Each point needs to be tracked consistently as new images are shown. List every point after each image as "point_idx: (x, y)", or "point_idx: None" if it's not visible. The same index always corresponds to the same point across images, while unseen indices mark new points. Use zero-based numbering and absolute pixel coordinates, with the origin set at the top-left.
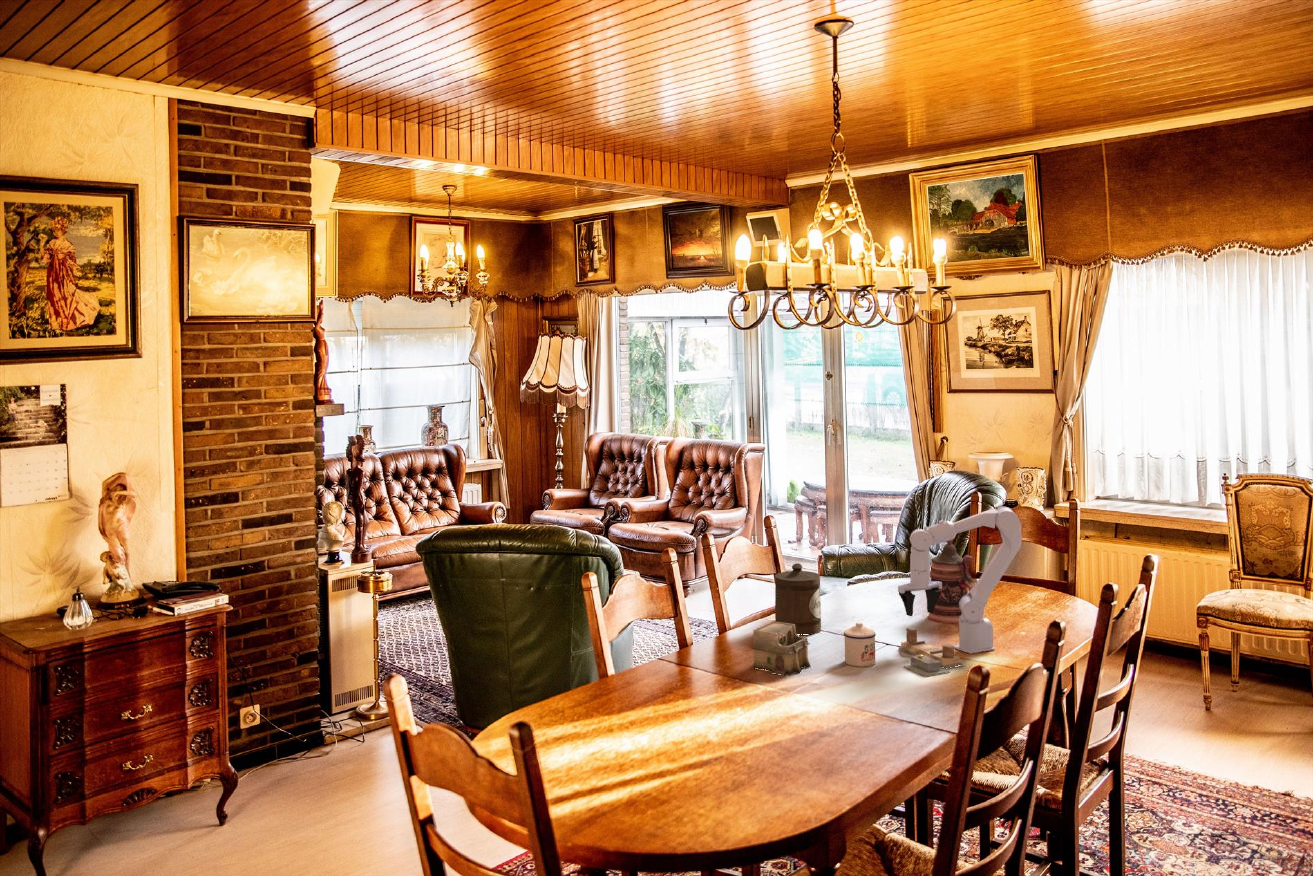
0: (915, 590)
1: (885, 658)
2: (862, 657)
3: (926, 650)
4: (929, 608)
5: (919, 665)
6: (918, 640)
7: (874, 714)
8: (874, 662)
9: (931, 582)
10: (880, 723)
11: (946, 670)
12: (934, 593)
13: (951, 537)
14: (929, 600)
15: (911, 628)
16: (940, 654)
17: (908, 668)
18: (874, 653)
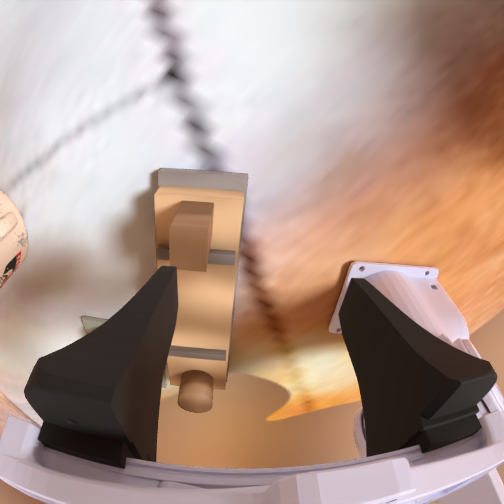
0: (210, 479)
1: (66, 231)
2: None
3: (176, 322)
4: (355, 314)
5: None
6: (240, 216)
7: (2, 396)
8: (20, 264)
9: (453, 487)
10: (7, 407)
11: (162, 383)
12: (373, 450)
13: None
14: (380, 355)
15: (192, 245)
16: (189, 362)
17: (87, 333)
18: (7, 279)
